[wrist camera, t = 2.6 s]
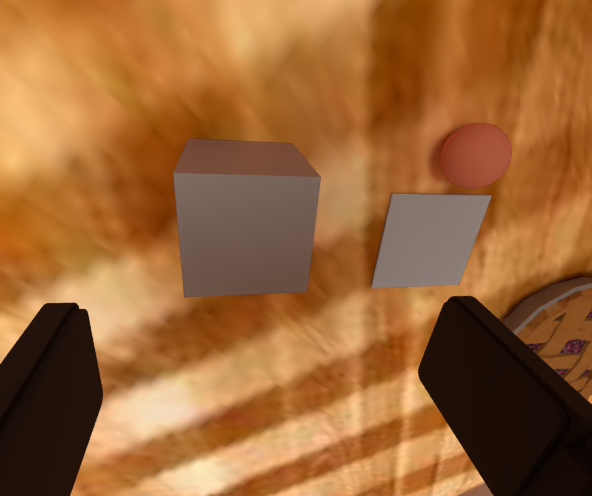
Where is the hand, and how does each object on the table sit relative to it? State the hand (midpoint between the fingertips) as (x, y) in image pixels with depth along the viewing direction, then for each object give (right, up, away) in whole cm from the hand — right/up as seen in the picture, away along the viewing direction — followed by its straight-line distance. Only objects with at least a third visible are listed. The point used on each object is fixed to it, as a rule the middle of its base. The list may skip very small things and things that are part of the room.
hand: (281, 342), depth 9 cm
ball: (+14, +10, +18) cm, 25 cm away
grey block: (-4, +7, +18) cm, 20 cm away
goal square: (+13, +3, +24) cm, 28 cm away
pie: (+34, -9, +36) cm, 50 cm away
